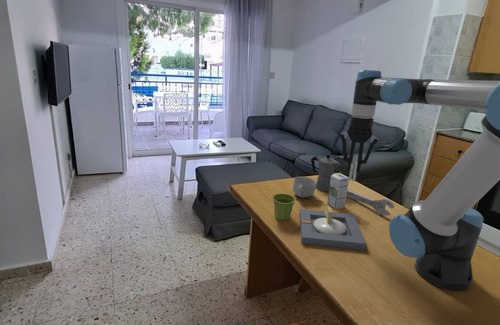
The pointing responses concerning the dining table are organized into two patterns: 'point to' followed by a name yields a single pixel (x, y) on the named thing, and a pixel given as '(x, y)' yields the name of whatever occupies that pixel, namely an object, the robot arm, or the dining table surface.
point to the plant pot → (283, 205)
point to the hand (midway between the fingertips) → (352, 179)
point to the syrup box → (338, 191)
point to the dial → (329, 224)
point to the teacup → (304, 186)
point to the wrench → (372, 202)
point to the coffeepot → (324, 171)
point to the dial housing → (347, 240)
